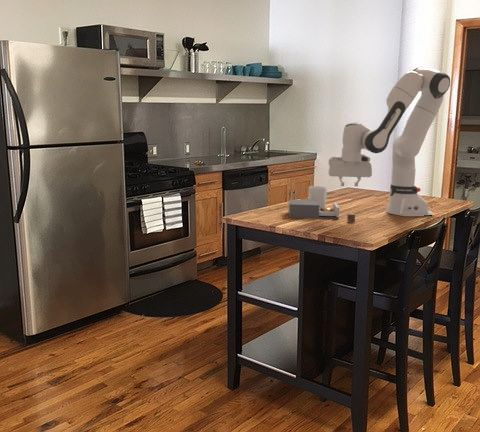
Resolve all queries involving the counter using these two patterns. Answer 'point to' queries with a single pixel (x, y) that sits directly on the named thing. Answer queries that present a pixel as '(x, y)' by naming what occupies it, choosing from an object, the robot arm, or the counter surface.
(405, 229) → the counter surface
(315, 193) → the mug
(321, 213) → the white bracket
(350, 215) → the pedestal
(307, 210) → the housing
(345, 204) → the counter surface
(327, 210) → the disc
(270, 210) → the counter surface
